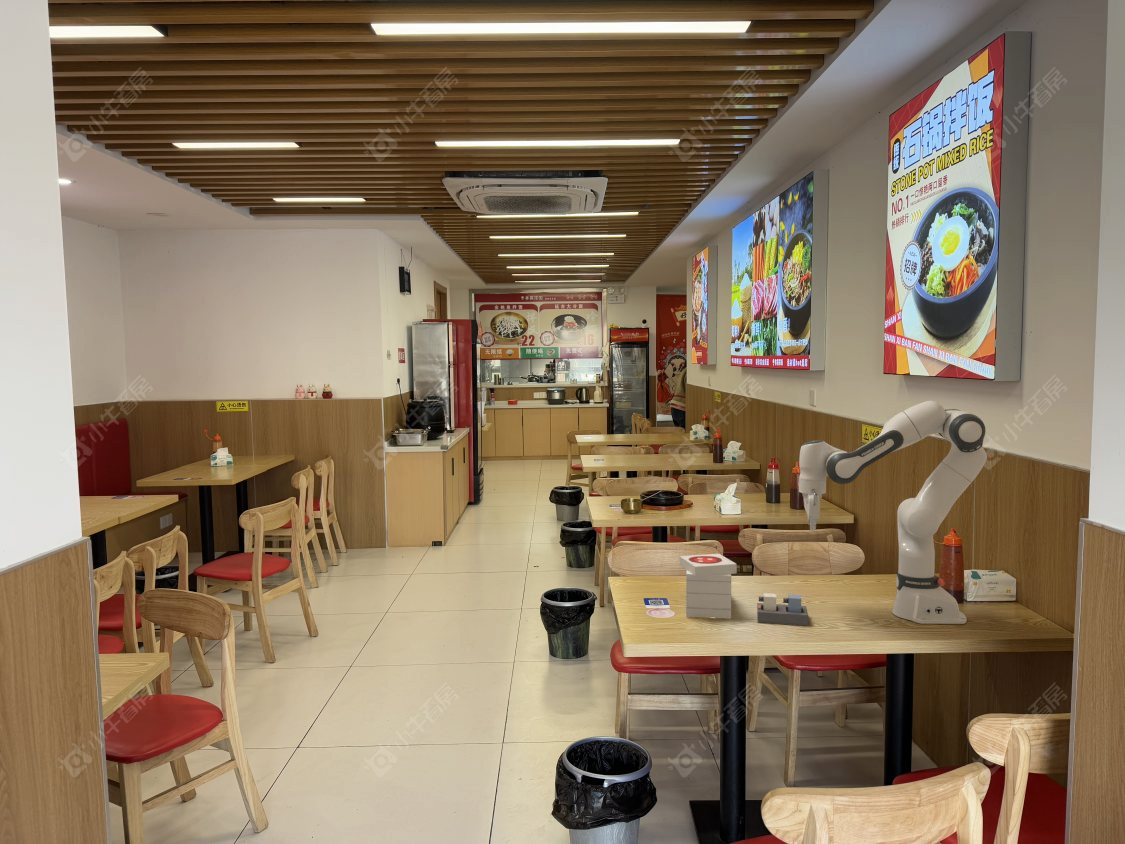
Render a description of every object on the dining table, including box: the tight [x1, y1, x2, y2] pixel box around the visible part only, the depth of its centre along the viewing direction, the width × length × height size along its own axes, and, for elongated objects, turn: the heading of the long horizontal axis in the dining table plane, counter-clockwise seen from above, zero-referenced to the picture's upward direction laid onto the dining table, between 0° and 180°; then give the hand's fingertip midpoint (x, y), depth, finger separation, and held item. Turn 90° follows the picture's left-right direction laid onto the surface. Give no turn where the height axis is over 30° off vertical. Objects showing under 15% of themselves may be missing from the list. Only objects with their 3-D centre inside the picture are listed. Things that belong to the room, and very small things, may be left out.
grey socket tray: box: [756, 602, 809, 626], centre depth 257 cm, size 16×10×4 cm, turn 76°
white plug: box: [758, 592, 777, 611], centre depth 258 cm, size 6×4×8 cm
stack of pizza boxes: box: [679, 553, 738, 619], centre depth 271 cm, size 19×30×18 cm, turn 171°
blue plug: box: [782, 594, 802, 613], centre depth 256 cm, size 6×4×8 cm
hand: (811, 527), depth 264 cm, fingers open, 8 cm apart
